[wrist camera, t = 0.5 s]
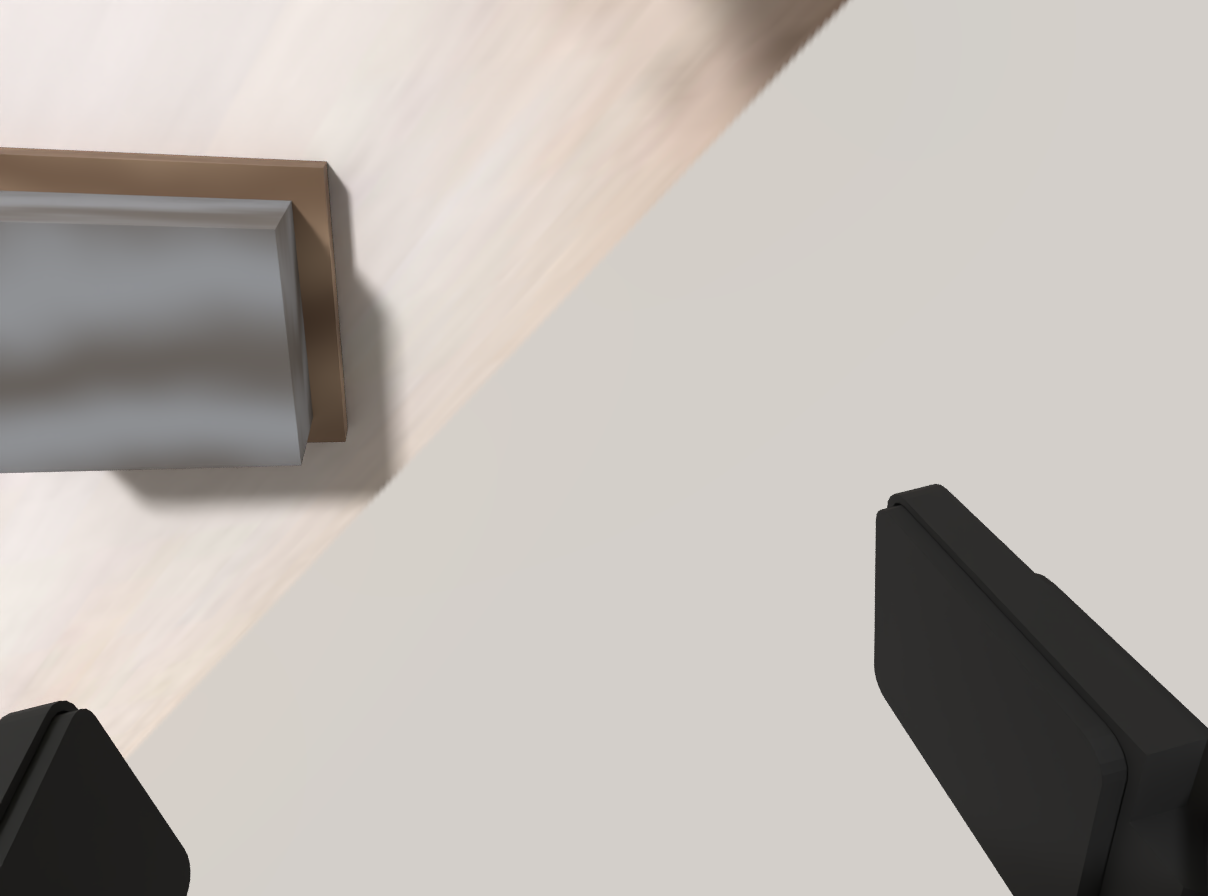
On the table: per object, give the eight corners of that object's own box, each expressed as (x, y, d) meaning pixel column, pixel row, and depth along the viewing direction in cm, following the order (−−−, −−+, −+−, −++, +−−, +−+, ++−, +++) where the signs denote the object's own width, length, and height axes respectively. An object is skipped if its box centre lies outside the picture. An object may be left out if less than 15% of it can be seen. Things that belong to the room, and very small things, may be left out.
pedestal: (-67, 144, 36) (-157, 175, 30) (326, 161, 39) (310, 192, 33) (18, 434, 42) (-43, 503, 37) (347, 428, 45) (337, 491, 40)
